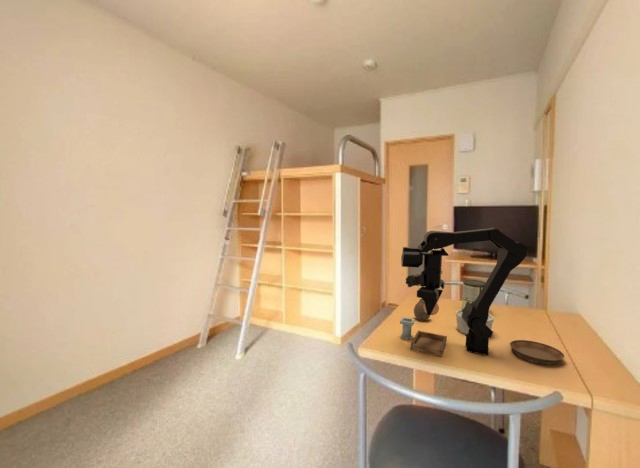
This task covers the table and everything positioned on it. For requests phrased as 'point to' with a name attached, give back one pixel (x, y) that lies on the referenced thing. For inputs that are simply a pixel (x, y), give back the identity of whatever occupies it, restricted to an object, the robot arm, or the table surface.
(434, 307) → the ball
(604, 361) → the table surface
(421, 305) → the vase
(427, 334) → the tray
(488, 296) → the robot arm
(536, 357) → the saucer
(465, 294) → the coffee can
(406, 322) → the stand
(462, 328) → the ramekin
